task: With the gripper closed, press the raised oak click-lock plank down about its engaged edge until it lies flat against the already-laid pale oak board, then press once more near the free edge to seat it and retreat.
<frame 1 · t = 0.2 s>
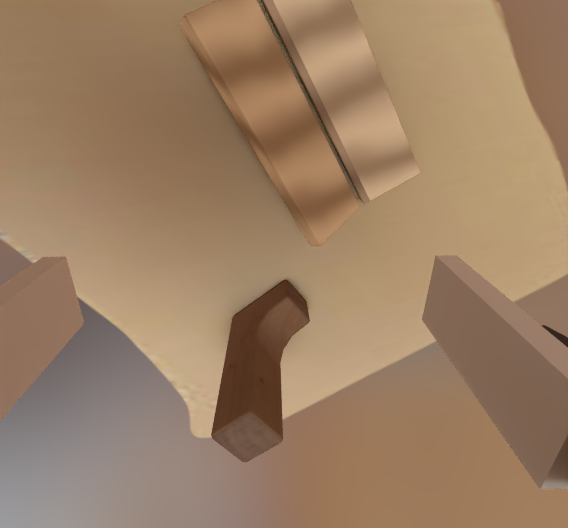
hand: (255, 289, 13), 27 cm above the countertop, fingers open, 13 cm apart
laid board: (343, 89, 34), on the countertop
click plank: (283, 129, 32), point 3 cm above the countertop, hinge at 38.0°
wooden block: (269, 308, 45), on the countertop
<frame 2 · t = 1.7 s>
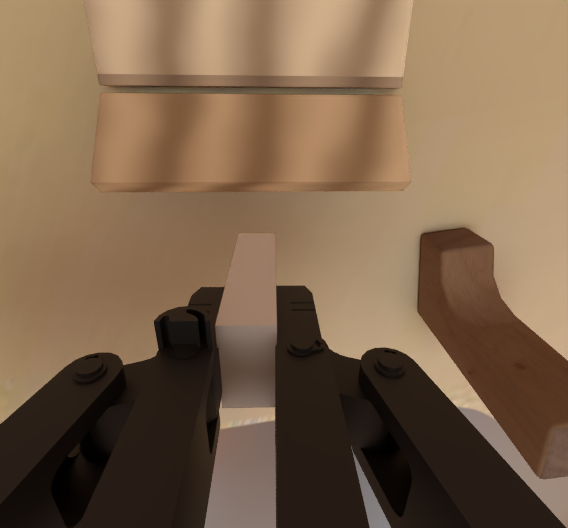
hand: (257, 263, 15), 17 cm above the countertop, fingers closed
laid board: (253, 37, 25), on the countertop
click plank: (254, 142, 25), point 3 cm above the countertop, hinge at 38.0°
wooden block: (439, 271, 35), on the countertop
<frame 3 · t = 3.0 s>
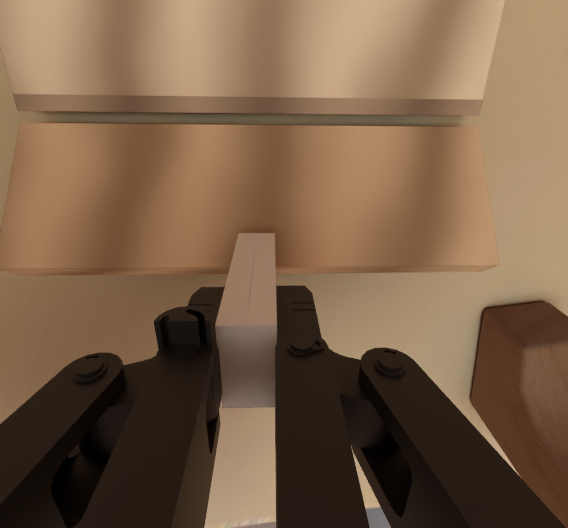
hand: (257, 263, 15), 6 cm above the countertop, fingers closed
laid board: (254, 38, 17), on the countertop
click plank: (255, 198, 17), point 3 cm above the countertop, hinge at 38.0°, touching gripper
wooden block: (503, 352, 26), on the countertop
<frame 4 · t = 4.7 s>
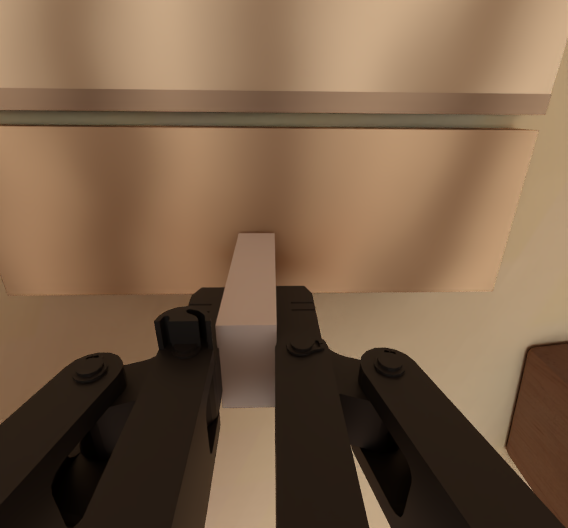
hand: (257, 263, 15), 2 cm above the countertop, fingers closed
laid board: (250, 14, 13), on the countertop
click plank: (254, 214, 15), point 1 cm above the countertop, hinge at 1.1°
wooden block: (547, 395, 22), on the countertop
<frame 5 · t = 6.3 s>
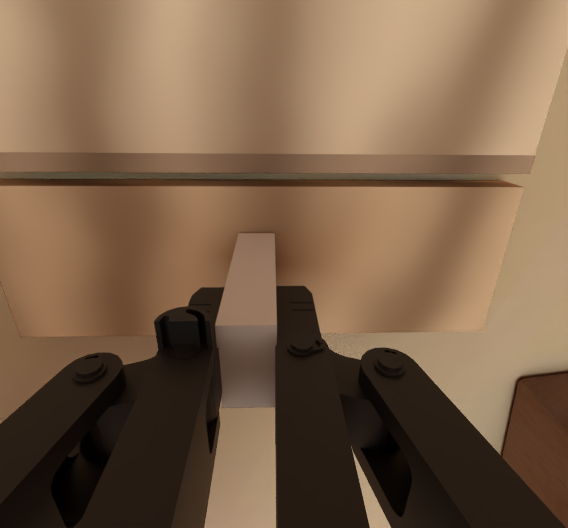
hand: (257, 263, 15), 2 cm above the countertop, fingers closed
laid board: (252, 80, 13), on the countertop
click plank: (256, 260, 16), point 1 cm above the countertop, hinge at 1.1°, touching gripper
wooden block: (537, 422, 23), on the countertop
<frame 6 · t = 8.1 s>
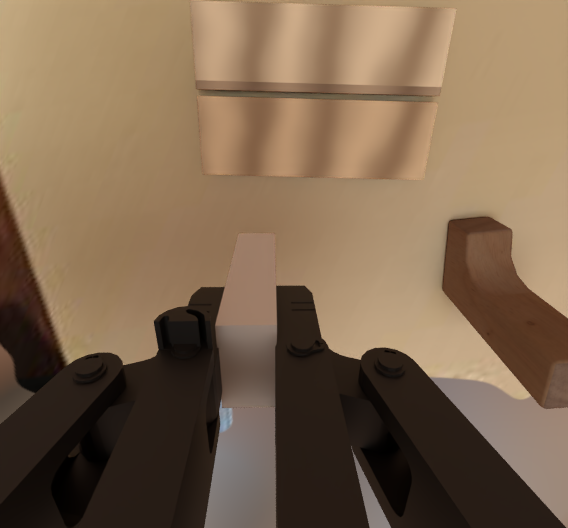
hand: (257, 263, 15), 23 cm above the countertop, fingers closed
laid board: (319, 52, 31), on the countertop
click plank: (314, 139, 34), point 1 cm above the countertop, hinge at 0.5°
wooden block: (463, 254, 40), on the countertop
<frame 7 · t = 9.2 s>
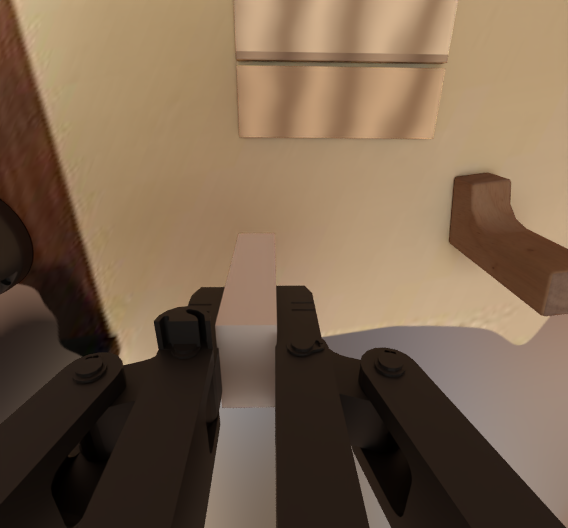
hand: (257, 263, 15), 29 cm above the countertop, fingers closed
laid board: (342, 26, 36), on the countertop
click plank: (338, 103, 38), point 1 cm above the countertop, hinge at 0.5°
wooden block: (467, 208, 45), on the countertop
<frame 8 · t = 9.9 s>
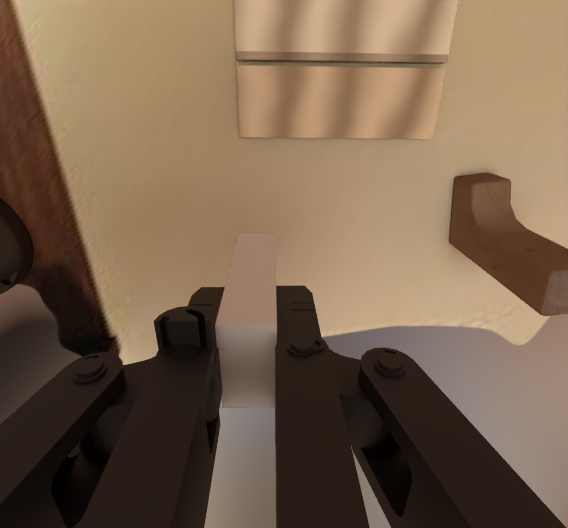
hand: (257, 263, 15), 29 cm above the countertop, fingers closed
laid board: (342, 26, 36), on the countertop
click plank: (338, 103, 38), point 1 cm above the countertop, hinge at 0.5°
wooden block: (467, 208, 45), on the countertop
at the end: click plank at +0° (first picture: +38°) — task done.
